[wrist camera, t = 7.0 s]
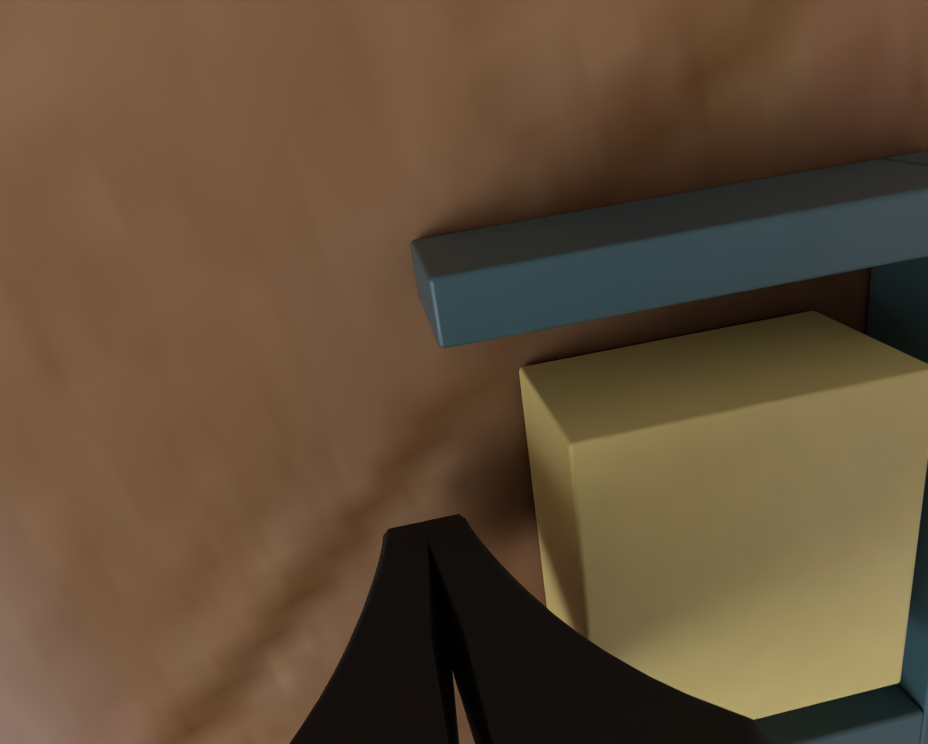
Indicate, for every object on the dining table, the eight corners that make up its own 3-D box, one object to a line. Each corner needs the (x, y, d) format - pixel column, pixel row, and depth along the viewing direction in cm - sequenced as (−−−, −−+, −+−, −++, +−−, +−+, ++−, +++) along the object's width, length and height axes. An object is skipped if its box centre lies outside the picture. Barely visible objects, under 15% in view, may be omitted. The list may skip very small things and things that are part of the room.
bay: (932, 148, 12) (1068, 162, 10) (880, 647, 17) (967, 737, 14) (409, 239, 11) (427, 278, 9) (494, 741, 16) (522, 854, 13)
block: (814, 308, 13) (941, 367, 10) (800, 577, 15) (902, 684, 13) (517, 366, 13) (568, 444, 10) (549, 636, 15) (598, 761, 12)
